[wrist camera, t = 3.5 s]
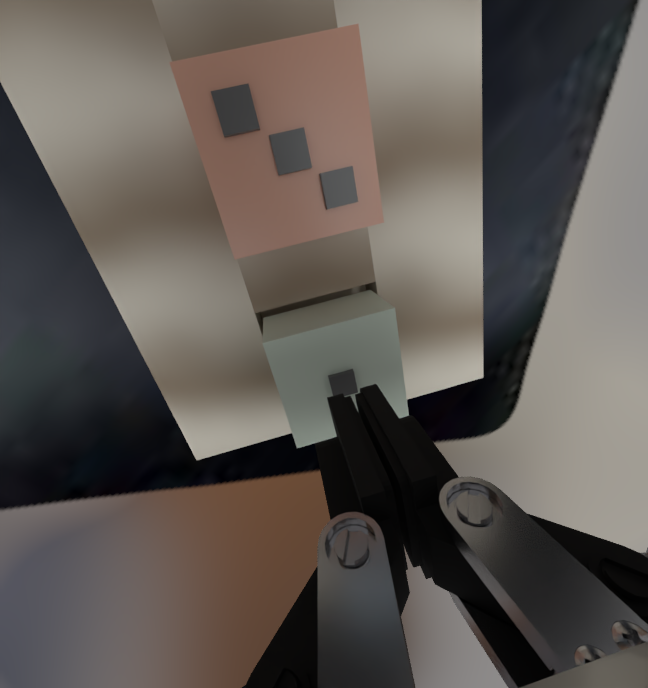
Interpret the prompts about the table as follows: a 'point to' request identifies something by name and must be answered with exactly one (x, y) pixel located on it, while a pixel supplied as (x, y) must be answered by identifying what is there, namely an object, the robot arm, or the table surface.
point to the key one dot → (333, 359)
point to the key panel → (200, 207)
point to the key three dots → (285, 138)
